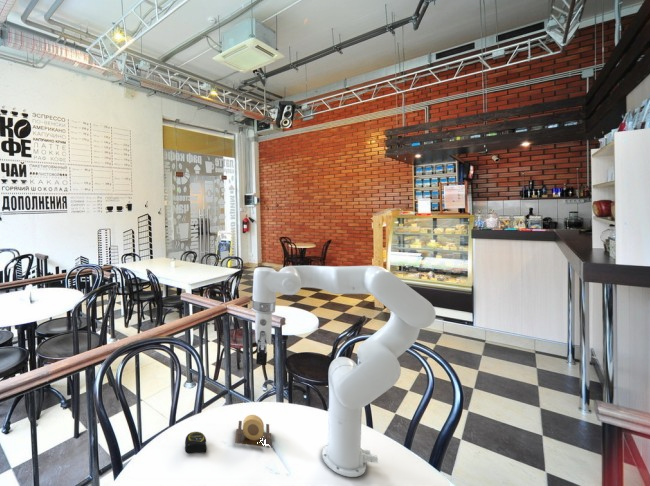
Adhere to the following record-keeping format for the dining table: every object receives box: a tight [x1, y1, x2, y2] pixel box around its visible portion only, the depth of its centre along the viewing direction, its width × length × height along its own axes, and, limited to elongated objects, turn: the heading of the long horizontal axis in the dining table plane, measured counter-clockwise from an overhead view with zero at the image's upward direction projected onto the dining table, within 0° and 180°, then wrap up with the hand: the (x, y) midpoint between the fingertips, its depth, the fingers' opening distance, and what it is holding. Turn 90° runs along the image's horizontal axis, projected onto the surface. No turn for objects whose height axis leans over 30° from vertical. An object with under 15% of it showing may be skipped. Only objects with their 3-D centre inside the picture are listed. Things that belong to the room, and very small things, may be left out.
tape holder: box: [234, 420, 273, 448], centre depth 110 cm, size 12×7×4 cm, turn 81°
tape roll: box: [242, 414, 265, 440], centre depth 110 cm, size 7×3×7 cm, turn 81°
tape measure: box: [184, 431, 207, 454], centre depth 106 cm, size 7×7×4 cm
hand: (261, 357), depth 108 cm, fingers open, 9 cm apart
